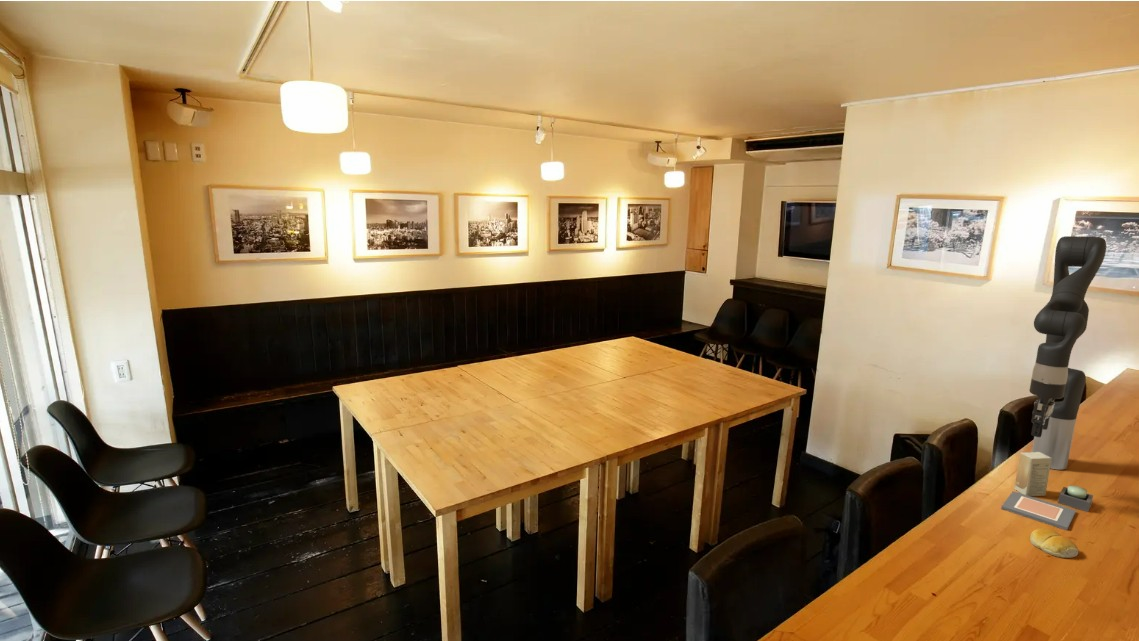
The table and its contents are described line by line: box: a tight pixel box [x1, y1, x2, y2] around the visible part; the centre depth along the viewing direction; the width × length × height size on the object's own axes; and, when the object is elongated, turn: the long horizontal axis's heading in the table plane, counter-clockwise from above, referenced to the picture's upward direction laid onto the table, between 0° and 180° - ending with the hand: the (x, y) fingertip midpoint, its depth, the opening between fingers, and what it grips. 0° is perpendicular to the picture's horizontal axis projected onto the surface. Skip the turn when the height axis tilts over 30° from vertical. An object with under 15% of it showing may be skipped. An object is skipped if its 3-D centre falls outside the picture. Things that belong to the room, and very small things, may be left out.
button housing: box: [1057, 486, 1094, 513], centre depth 156 cm, size 6×6×3 cm
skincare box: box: [1013, 451, 1051, 497], centre depth 161 cm, size 6×4×12 cm
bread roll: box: [1029, 528, 1079, 559], centre depth 135 cm, size 8×9×4 cm
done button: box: [1067, 484, 1088, 498], centre depth 155 cm, size 4×4×2 cm
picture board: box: [1000, 490, 1077, 531], centre depth 152 cm, size 13×14×1 cm
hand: (1039, 432), depth 158 cm, fingers open, 8 cm apart
